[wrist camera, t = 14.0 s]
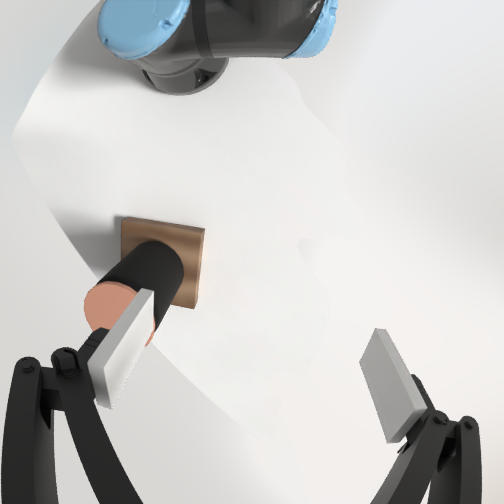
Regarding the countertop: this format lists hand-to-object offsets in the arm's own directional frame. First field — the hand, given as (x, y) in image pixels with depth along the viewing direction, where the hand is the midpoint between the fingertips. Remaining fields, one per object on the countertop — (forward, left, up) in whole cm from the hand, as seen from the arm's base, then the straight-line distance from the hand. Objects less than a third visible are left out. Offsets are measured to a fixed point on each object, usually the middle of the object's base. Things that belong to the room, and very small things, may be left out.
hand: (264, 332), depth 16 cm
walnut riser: (+14, -17, -37) cm, 43 cm away
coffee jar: (+14, -17, -34) cm, 40 cm away
